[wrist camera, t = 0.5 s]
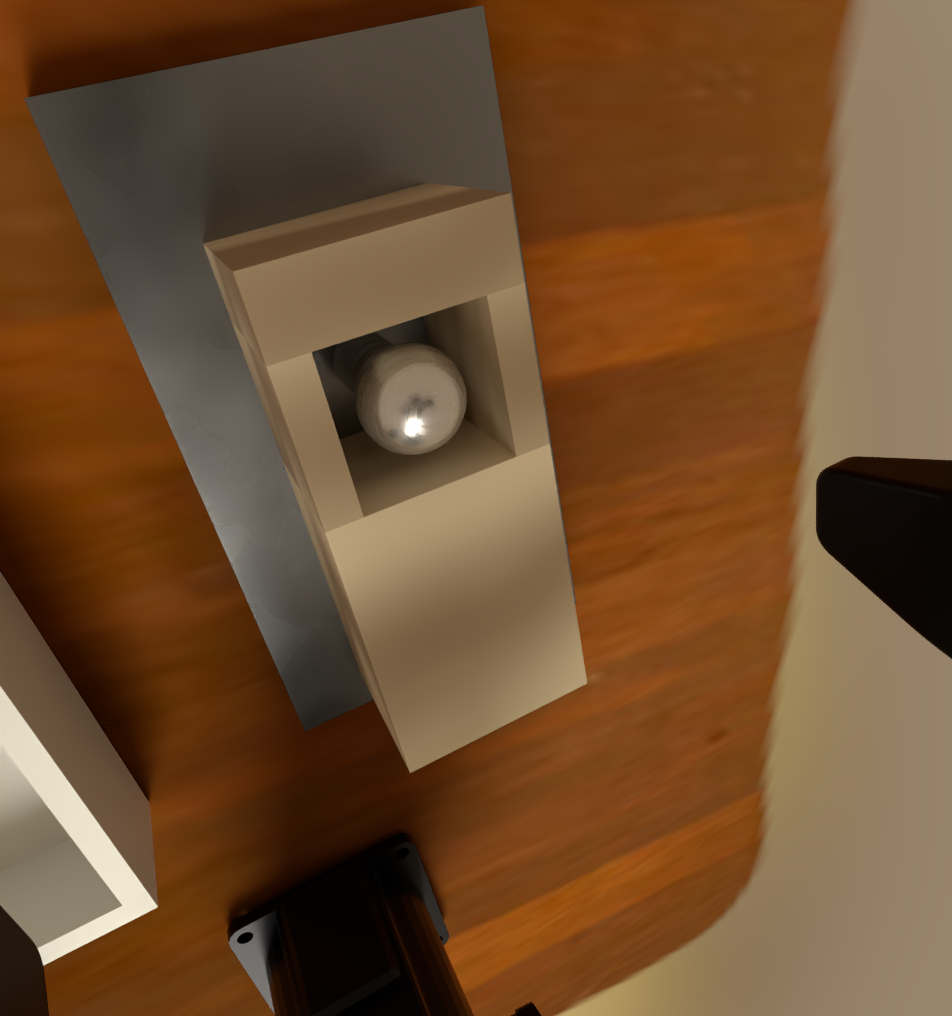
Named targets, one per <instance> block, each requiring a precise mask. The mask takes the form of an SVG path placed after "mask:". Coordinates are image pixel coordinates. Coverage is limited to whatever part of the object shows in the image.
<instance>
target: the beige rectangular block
mask: <svg viewBox="0 0 952 1016" xmlns="http://www.w3.org/2000/svg"><path fill="white" fill-rule="evenodd" d="M203 245H204V248H205V251H206V253H207V256H208V259H209V261H210V264H211V267H212V270H213V272H214V275H215V278H216V281H217V283H218V286H219V289H220V291H221V294H222V297H223V300H224V302H225V305H226V308H227V311H228V313H229V316H230V319H231V321H232V324H233V327H234V330H235V332H236V335H237V338H238V340H239V343H240V346H241V349H242V351H243V354H244V357H245V360H246V362H247V365H248V368H249V370H250V373H251V376H252V379H253V381H254V384H255V387H256V389H257V392H258V395H259V398H260V400H261V403H262V406H263V409H264V411H265V414H266V417H267V419H268V422H269V425H270V428H271V430H272V433H273V436H274V438H275V441H276V444H277V447H278V449H279V452H280V455H281V458H282V460H283V463H284V466H285V468H286V471H287V474H288V477H289V479H290V482H291V485H292V487H293V490H294V493H295V496H296V498H297V501H298V504H299V507H300V509H301V512H302V515H303V517H304V520H305V523H306V526H307V528H308V531H309V534H310V536H311V539H312V542H313V545H314V547H315V550H316V553H317V556H318V558H319V561H320V564H321V566H322V569H323V572H324V575H325V577H326V580H327V583H328V585H329V588H330V591H331V594H332V596H333V599H334V602H335V605H336V607H337V610H338V613H339V615H340V618H341V621H342V624H343V626H344V629H345V632H346V634H347V637H348V640H349V643H350V645H351V648H352V651H353V654H354V656H355V659H356V662H357V664H358V667H359V670H360V673H361V675H362V677H363V679H364V681H365V683H366V685H367V687H368V689H369V691H370V693H371V695H372V697H373V699H374V701H375V703H376V705H377V707H378V709H379V711H380V713H381V715H382V717H383V719H384V721H385V723H386V725H387V727H388V729H389V731H390V733H391V735H392V738H393V740H394V742H395V744H396V746H397V748H398V750H399V752H400V754H401V756H402V758H403V760H404V762H405V764H406V766H407V768H408V770H409V772H410V773H412V772H414V771H416V770H418V769H420V768H421V767H423V766H425V765H427V764H429V763H431V762H433V761H435V760H437V759H439V758H441V757H443V756H445V755H447V754H449V753H451V752H453V751H455V750H457V749H459V748H461V747H463V746H465V745H467V744H469V743H471V742H473V741H475V740H477V739H479V738H481V737H483V736H485V735H486V734H488V733H490V732H492V731H494V730H496V729H498V728H500V727H502V726H504V725H506V724H508V723H510V722H512V721H514V720H516V719H518V718H520V717H522V716H524V715H526V714H528V713H530V712H532V711H534V710H536V709H538V708H540V707H542V706H544V705H546V704H548V703H549V702H551V701H553V700H555V699H557V698H559V697H561V696H563V695H565V694H567V693H569V692H571V691H573V690H575V689H577V688H579V687H581V686H583V685H585V684H587V679H586V673H585V666H584V660H583V653H582V647H581V641H580V634H579V628H578V621H577V615H576V609H575V602H574V596H573V589H572V583H571V576H570V570H569V564H568V557H567V551H566V544H565V538H564V532H563V525H562V519H561V512H560V506H559V500H558V493H557V487H556V480H555V474H554V468H553V461H552V455H551V448H550V442H549V435H548V429H547V423H546V416H545V410H544V403H543V397H542V391H541V384H540V378H539V371H538V365H537V359H536V352H535V346H534V339H533V333H532V326H531V320H530V314H529V307H528V301H527V294H526V288H525V282H524V275H523V269H522V262H521V256H520V250H519V243H518V237H517V230H516V224H515V218H514V211H513V205H512V198H511V193H509V192H500V191H492V190H483V189H475V188H467V187H458V186H450V185H441V184H433V183H426V184H422V185H418V186H415V187H411V188H407V189H403V190H400V191H396V192H392V193H389V194H385V195H381V196H378V197H374V198H370V199H367V200H363V201H359V202H355V203H352V204H348V205H344V206H341V207H337V208H333V209H330V210H326V211H322V212H319V213H315V214H311V215H307V216H304V217H300V218H296V219H293V220H289V221H285V222H282V223H278V224H274V225H270V226H267V227H263V228H259V229H256V230H252V231H248V232H245V233H241V234H237V235H234V236H230V237H226V238H222V239H219V240H215V241H211V242H208V243H204V244H203ZM421 316H423V317H424V322H425V326H426V330H427V335H428V339H429V343H430V346H432V347H434V348H436V349H438V350H440V351H441V352H443V353H444V354H445V355H446V356H447V357H449V358H450V359H451V360H452V362H453V363H454V364H455V365H456V367H457V368H458V370H459V372H460V373H461V376H462V378H463V381H464V384H465V388H466V394H467V403H466V410H465V415H464V418H463V421H462V423H461V425H460V427H459V428H458V430H457V432H456V433H455V434H454V435H453V437H452V438H451V439H450V440H449V441H448V442H446V443H445V444H444V445H442V446H441V447H439V448H437V449H435V450H433V451H430V452H427V453H424V454H418V455H405V454H399V453H395V452H392V451H390V450H387V449H385V448H383V447H382V446H380V445H379V444H378V443H376V442H375V441H374V440H373V439H372V438H371V437H370V436H369V435H368V434H367V433H366V431H362V432H359V433H356V434H354V435H351V436H348V437H345V438H343V439H340V440H339V437H338V434H337V431H336V428H335V424H334V421H333V418H332V415H331V412H330V409H329V406H328V402H327V399H326V396H325V393H324V390H323V387H322V384H321V380H320V377H319V374H318V371H317V368H316V365H315V361H314V358H313V355H312V352H314V351H317V350H320V349H323V348H326V347H329V346H332V345H335V344H338V343H341V342H344V341H347V340H351V339H354V338H357V337H360V336H363V335H366V334H369V333H372V332H375V331H378V330H381V329H384V328H388V327H391V326H394V325H397V324H400V323H403V322H406V321H409V320H412V319H415V318H418V317H421Z"/></svg>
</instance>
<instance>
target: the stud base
mask: <svg viewBox="0 0 952 1016" xmlns="http://www.w3.org/2000/svg"><path fill="white" fill-rule="evenodd" d="M24 99H25V101H26V103H27V106H28V108H29V110H30V112H31V115H32V117H33V119H34V121H35V124H36V126H37V128H38V130H39V133H40V135H41V137H42V139H43V142H44V144H45V146H46V149H47V151H48V153H49V155H50V158H51V160H52V162H53V164H54V167H55V169H56V171H57V173H58V176H59V178H60V180H61V182H62V185H63V187H64V189H65V191H66V194H67V196H68V198H69V200H70V203H71V205H72V207H73V209H74V212H75V214H76V216H77V218H78V221H79V223H80V225H81V227H82V230H83V232H84V234H85V236H86V239H87V241H88V243H89V245H90V248H91V250H92V252H93V254H94V257H95V259H96V261H97V263H98V266H99V268H100V270H101V272H102V275H103V277H104V279H105V281H106V284H107V286H108V288H109V290H110V293H111V295H112V297H113V299H114V302H115V304H116V306H117V309H118V311H119V313H120V315H121V318H122V320H123V322H124V324H125V327H126V329H127V331H128V333H129V336H130V338H131V340H132V342H133V345H134V347H135V349H136V351H137V354H138V356H139V358H140V360H141V363H142V365H143V367H144V369H145V372H146V374H147V376H148V378H149V381H150V383H151V385H152V387H153V390H154V392H155V394H156V396H157V399H158V401H159V403H160V405H161V408H162V410H163V412H164V414H165V417H166V419H167V421H168V423H169V426H170V428H171V430H172V432H173V435H174V437H175V439H176V441H177V444H178V446H179V448H180V450H181V453H182V455H183V457H184V459H185V462H186V464H187V466H188V469H189V471H190V473H191V475H192V478H193V480H194V482H195V484H196V487H197V489H198V491H199V493H200V496H201V498H202V500H203V502H204V505H205V507H206V509H207V511H208V514H209V516H210V518H211V520H212V523H213V525H214V527H215V529H216V532H217V534H218V536H219V538H220V541H221V543H222V545H223V547H224V550H225V552H226V554H227V556H228V559H229V561H230V563H231V565H232V568H233V570H234V572H235V574H236V577H237V579H238V581H239V583H240V586H241V588H242V590H243V592H244V595H245V597H246V599H247V601H248V604H249V606H250V608H251V610H252V613H253V615H254V617H255V619H256V622H257V624H258V626H259V629H260V631H261V633H262V635H263V638H264V640H265V642H266V644H267V647H268V649H269V651H270V653H271V656H272V658H273V660H274V662H275V665H276V667H277V669H278V671H279V674H280V676H281V678H282V680H283V683H284V685H285V687H286V689H287V692H288V694H289V696H290V698H291V701H292V703H293V705H294V707H295V710H296V712H297V714H298V716H299V719H300V721H301V723H302V725H303V728H304V730H305V731H308V730H310V729H312V728H314V727H316V726H318V725H320V724H322V723H325V722H327V721H329V720H331V719H333V718H335V717H337V716H339V715H342V714H344V713H346V712H348V711H350V710H352V709H354V708H356V707H359V706H361V705H363V704H365V703H367V702H369V701H371V700H373V697H372V695H371V693H370V691H369V689H368V687H367V685H366V683H365V681H364V679H363V677H362V675H361V673H360V670H359V667H358V664H357V662H356V659H355V656H354V654H353V651H352V648H351V645H350V643H349V640H348V637H347V634H346V632H345V629H344V626H343V624H342V621H341V618H340V615H339V613H338V610H337V607H336V605H335V602H334V599H333V596H332V594H331V591H330V588H329V585H328V583H327V580H326V577H325V575H324V572H323V569H322V566H321V564H320V561H319V558H318V556H317V553H316V550H315V547H314V545H313V542H312V539H311V536H310V534H309V531H308V528H307V526H306V523H305V520H304V517H303V515H302V512H301V509H300V507H299V504H298V501H297V498H296V496H295V493H294V490H293V487H292V485H291V482H290V479H289V477H288V474H287V471H286V468H285V466H284V463H283V460H282V458H281V455H280V452H279V449H278V447H277V444H276V441H275V438H274V436H273V433H272V430H271V428H270V425H269V422H268V419H267V417H266V414H265V411H264V409H263V406H262V403H261V400H260V398H259V395H258V392H257V389H256V387H255V384H254V381H253V379H252V376H251V373H250V370H249V368H248V365H247V362H246V360H245V357H244V354H243V351H242V349H241V346H240V343H239V340H238V338H237V335H236V332H235V330H234V327H233V324H232V321H231V319H230V316H229V313H228V311H227V308H226V305H225V302H224V300H223V297H222V294H221V291H220V289H219V286H218V283H217V281H216V278H215V275H214V272H213V270H212V267H211V264H210V261H209V259H208V256H207V253H206V251H205V248H204V245H203V244H204V243H208V242H211V241H215V240H219V239H222V238H226V237H230V236H234V235H237V234H241V233H245V232H248V231H252V230H256V229H259V228H263V227H267V226H270V225H274V224H278V223H282V222H285V221H289V220H293V219H296V218H300V217H304V216H307V215H311V214H315V213H319V212H322V211H326V210H330V209H333V208H337V207H341V206H344V205H348V204H352V203H355V202H359V201H363V200H367V199H370V198H374V197H378V196H381V195H385V194H389V193H392V192H396V191H400V190H403V189H407V188H411V187H415V186H418V185H422V184H426V183H433V184H441V185H450V186H458V187H467V188H475V189H483V190H492V191H500V192H509V193H511V198H512V205H513V211H514V218H515V224H516V230H517V237H518V243H519V250H520V256H521V262H522V269H523V275H524V282H525V288H526V294H527V301H528V307H529V314H530V320H531V326H532V333H533V339H534V346H535V352H536V359H537V365H538V371H539V378H540V384H541V391H542V397H543V403H544V410H545V416H546V423H547V429H548V435H549V442H550V448H551V455H552V461H553V468H554V474H555V480H556V487H557V493H558V500H559V506H560V512H561V519H562V525H563V532H564V538H565V544H566V551H567V557H568V564H569V570H570V576H571V583H572V589H573V596H574V602H575V604H576V600H575V593H574V587H573V580H572V574H571V567H570V561H569V555H568V548H567V542H566V535H565V529H564V522H563V516H562V509H561V503H560V496H559V490H558V483H557V477H556V471H555V464H554V458H553V451H552V445H551V438H550V432H549V425H548V419H547V412H546V406H545V400H544V393H543V387H542V380H541V374H540V367H539V361H538V354H537V348H536V341H535V335H534V328H533V322H532V316H531V309H530V303H529V296H528V290H527V283H526V277H525V270H524V264H523V257H522V251H521V244H520V238H519V232H518V225H517V219H516V212H515V206H514V199H513V193H512V186H511V180H510V173H509V167H508V160H507V154H506V148H505V141H504V135H503V128H502V122H501V115H500V109H499V102H498V96H497V89H496V83H495V77H494V70H493V64H492V57H491V51H490V44H489V38H488V31H487V25H486V18H485V12H484V5H482V6H477V7H472V8H467V9H462V10H457V11H452V12H447V13H442V14H438V15H433V16H428V17H423V18H418V19H413V20H408V21H403V22H398V23H393V24H388V25H383V26H378V27H373V28H368V29H364V30H359V31H354V32H349V33H344V34H339V35H334V36H329V37H324V38H319V39H314V40H309V41H304V42H299V43H295V44H290V45H285V46H280V47H275V48H270V49H265V50H260V51H255V52H250V53H245V54H240V55H235V56H230V57H225V58H221V59H216V60H211V61H206V62H201V63H196V64H191V65H186V66H181V67H176V68H171V69H166V70H161V71H156V72H151V73H147V74H142V75H137V76H132V77H127V78H122V79H117V80H112V81H107V82H102V83H97V84H92V85H87V86H82V87H78V88H73V89H68V90H63V91H58V92H53V93H48V94H43V95H38V96H33V97H28V98H24ZM312 355H313V358H314V361H315V365H316V368H317V371H318V374H319V377H320V380H321V384H322V387H323V390H324V393H325V396H326V399H327V402H328V406H329V409H330V412H331V415H332V418H333V421H334V424H335V428H336V431H337V434H338V437H339V440H340V439H343V438H345V437H348V436H351V435H354V434H356V433H359V432H362V431H366V433H367V434H368V435H369V436H370V437H371V438H372V439H373V440H374V441H375V442H376V443H378V444H379V445H380V446H382V447H383V448H385V449H387V450H390V451H392V452H395V453H399V454H405V455H418V454H424V453H427V452H430V451H433V450H435V449H437V448H439V447H441V446H442V445H444V444H445V443H446V442H448V441H449V440H450V439H451V438H452V437H453V435H454V434H455V433H456V432H457V430H458V428H459V427H460V425H461V423H462V421H463V418H464V415H465V410H466V403H467V394H466V388H465V384H464V381H463V378H462V376H461V373H460V372H459V370H458V368H457V367H456V365H455V364H454V363H453V362H452V360H451V359H450V358H449V357H447V356H446V355H445V354H444V353H443V352H441V351H440V350H438V349H436V348H434V347H432V346H430V343H429V339H428V335H427V330H426V326H425V322H424V317H423V316H421V317H418V318H415V319H412V320H409V321H406V322H403V323H400V324H397V325H394V326H391V327H388V328H384V329H381V330H378V331H375V332H372V333H369V334H366V335H363V336H360V337H357V338H354V339H351V340H347V341H344V342H341V343H338V344H335V345H332V346H329V347H326V348H323V349H320V350H317V351H314V352H312Z"/></svg>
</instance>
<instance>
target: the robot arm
mask: <svg viewBox="0 0 952 1016" xmlns="http://www.w3.org/2000/svg"><path fill="white" fill-rule="evenodd" d="M816 531H817V536H818V539H819V541H820V543H821V544H822V546H823V547H824V549H825V550H826V551H827V552H828V553H829V554H830V555H831V556H833V557H834V558H835V559H836V560H837V561H838V562H839V563H840V564H841V565H843V566H844V567H845V568H846V569H847V570H848V571H849V572H850V573H852V574H853V575H854V576H855V577H856V578H857V579H858V580H860V581H861V582H862V583H863V584H864V585H865V586H866V587H867V588H868V589H870V590H871V591H872V592H873V593H874V594H875V595H876V596H877V597H879V598H880V599H881V600H882V601H883V602H884V603H885V604H886V605H887V606H889V607H890V608H891V609H892V610H893V611H894V612H895V613H896V614H898V615H899V616H900V617H901V618H902V619H903V620H904V621H905V622H907V623H908V624H909V625H910V626H911V627H912V628H914V629H915V630H916V631H917V632H918V633H919V634H921V635H922V636H923V637H924V638H925V639H927V640H928V641H929V642H930V643H932V644H933V645H934V646H935V647H937V648H938V649H939V650H941V651H942V652H943V653H945V654H946V655H947V656H949V657H950V658H951V659H952V460H931V459H906V458H882V457H881V458H880V457H850V458H846V459H844V460H842V461H840V462H838V463H836V464H834V465H832V466H829V467H827V468H826V469H824V470H823V471H822V472H821V473H820V474H819V476H818V479H817V483H816ZM227 933H228V939H229V944H230V947H231V949H232V950H233V952H234V953H235V955H236V956H237V958H238V959H239V961H240V962H241V964H242V965H243V967H244V968H245V970H246V971H247V973H248V974H249V976H250V977H251V979H252V980H253V982H254V983H255V985H256V986H257V988H258V989H259V991H260V993H261V994H262V996H263V997H264V999H265V1000H266V1002H267V1003H268V1005H269V1006H270V1008H271V1009H272V1011H273V1012H274V1014H275V1016H474V1015H473V1013H472V1010H471V1008H470V1006H469V1003H468V1001H467V999H466V997H465V994H464V992H463V990H462V987H461V985H460V983H459V980H458V978H457V976H456V973H455V971H454V969H453V967H452V964H451V962H450V960H449V957H448V955H447V953H446V950H445V948H444V946H443V945H444V944H445V943H446V942H447V940H448V938H449V934H448V931H447V929H446V926H445V923H444V921H443V918H442V915H441V913H440V910H439V907H438V905H437V902H436V899H435V897H434V894H433V891H432V889H431V886H430V883H429V881H428V878H427V876H426V873H425V870H424V868H423V865H422V862H421V860H420V857H419V854H418V852H417V849H416V846H415V844H414V842H413V840H412V838H411V836H410V835H409V834H406V833H401V834H398V835H395V836H393V837H391V838H389V839H387V840H386V841H384V842H382V843H380V844H378V845H376V846H374V847H372V848H370V849H369V850H367V851H365V852H363V853H361V854H359V855H357V856H355V857H353V858H352V859H350V860H348V861H346V862H344V863H342V864H340V865H338V866H336V867H335V868H333V869H331V870H329V871H327V872H325V873H323V874H321V875H319V876H318V877H316V878H314V879H312V880H310V881H308V882H306V883H304V884H302V885H301V886H299V887H297V888H295V889H293V890H291V891H289V892H287V893H285V894H284V895H282V896H280V897H278V898H276V899H274V900H272V901H270V902H269V903H267V904H265V905H263V906H261V907H259V908H257V909H255V910H253V911H252V912H250V913H248V914H246V915H244V916H242V917H240V918H238V919H237V920H235V921H234V922H232V924H231V925H230V926H229V928H228V931H227ZM0 1016H49V1011H48V1002H47V993H46V984H45V975H44V967H43V963H42V959H41V956H40V953H39V951H38V949H37V947H36V945H35V943H34V942H33V941H32V939H31V938H30V937H29V936H28V935H27V934H26V933H25V931H24V930H23V929H22V928H21V927H20V926H19V925H18V924H17V923H16V922H15V921H14V920H13V918H12V917H11V916H10V915H9V914H8V913H7V912H6V911H5V910H4V909H3V908H2V906H1V905H0ZM511 1016H541V1015H540V1013H539V1012H538V1010H537V1009H536V1007H535V1006H534V1004H533V1003H532V1002H529V1003H527V1004H525V1005H524V1006H522V1007H520V1008H518V1009H516V1010H515V1014H513V1015H511Z"/></svg>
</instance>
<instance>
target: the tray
mask: <svg viewBox="0 0 952 1016" xmlns="http://www.w3.org/2000/svg"><path fill="white" fill-rule="evenodd" d="M0 905H1V906H2V908H3V909H4V910H5V911H6V912H7V913H8V914H9V915H10V916H11V917H12V918H13V920H14V921H15V922H16V923H17V924H18V925H19V926H20V927H21V928H22V929H23V930H24V931H25V933H26V934H27V935H28V936H29V937H30V938H31V939H32V941H33V942H34V943H35V945H36V947H37V949H38V951H39V953H40V956H41V959H42V963H43V965H45V964H47V963H49V962H51V961H53V960H55V959H57V958H59V957H61V956H63V955H65V954H67V953H69V952H71V951H73V950H75V949H77V948H79V947H81V946H83V945H85V944H87V943H88V942H90V941H92V940H94V939H96V938H98V937H100V936H102V935H104V934H106V933H108V932H110V931H112V930H114V929H116V928H118V927H120V926H122V925H124V924H126V923H128V922H130V921H132V920H134V919H136V918H137V917H139V916H141V915H143V914H145V913H147V912H149V911H151V910H153V909H155V908H157V907H158V900H157V888H156V875H155V863H154V851H153V839H152V826H151V814H150V803H149V802H148V800H147V798H146V797H145V795H144V794H143V792H142V791H141V789H140V788H139V786H138V784H137V783H136V781H135V780H134V778H133V777H132V775H131V774H130V772H129V770H128V769H127V767H126V766H125V764H124V763H123V761H122V760H121V758H120V756H119V755H118V753H117V752H116V750H115V749H114V747H113V746H112V744H111V743H110V741H109V739H108V738H107V736H106V735H105V733H104V732H103V730H102V729H101V727H100V725H99V724H98V722H97V721H96V719H95V718H94V716H93V715H92V713H91V711H90V710H89V708H88V707H87V705H86V704H85V702H84V701H83V699H82V698H81V696H80V694H79V693H78V691H77V690H76V688H75V687H74V685H73V684H72V682H71V680H70V679H69V677H68V676H67V674H66V673H65V671H64V670H63V668H62V666H61V665H60V663H59V662H58V660H57V659H56V657H55V656H54V654H53V653H52V651H51V649H50V648H49V646H48V645H47V643H46V642H45V640H44V639H43V637H42V635H41V634H40V632H39V631H38V629H37V628H36V626H35V625H34V623H33V621H32V620H31V618H30V617H29V615H28V614H27V612H26V611H25V609H24V608H23V606H22V604H21V603H20V601H19V600H18V598H17V597H16V595H15V594H14V592H13V590H12V589H11V587H10V586H9V584H8V583H7V581H6V580H5V578H4V576H3V575H2V573H1V572H0Z"/></svg>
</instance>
